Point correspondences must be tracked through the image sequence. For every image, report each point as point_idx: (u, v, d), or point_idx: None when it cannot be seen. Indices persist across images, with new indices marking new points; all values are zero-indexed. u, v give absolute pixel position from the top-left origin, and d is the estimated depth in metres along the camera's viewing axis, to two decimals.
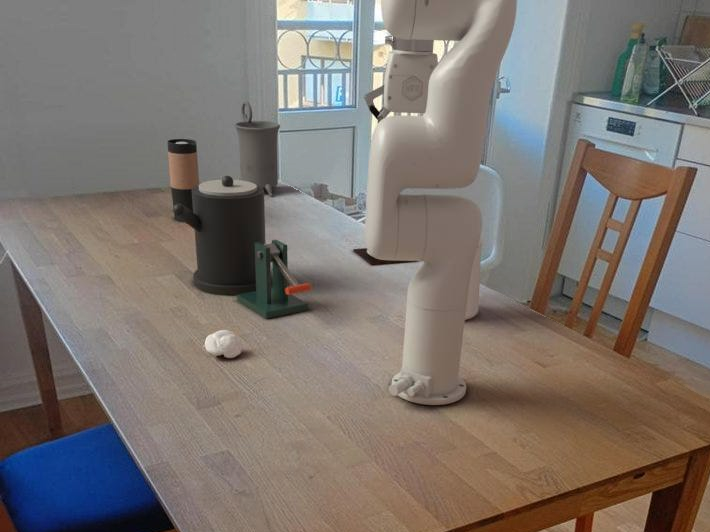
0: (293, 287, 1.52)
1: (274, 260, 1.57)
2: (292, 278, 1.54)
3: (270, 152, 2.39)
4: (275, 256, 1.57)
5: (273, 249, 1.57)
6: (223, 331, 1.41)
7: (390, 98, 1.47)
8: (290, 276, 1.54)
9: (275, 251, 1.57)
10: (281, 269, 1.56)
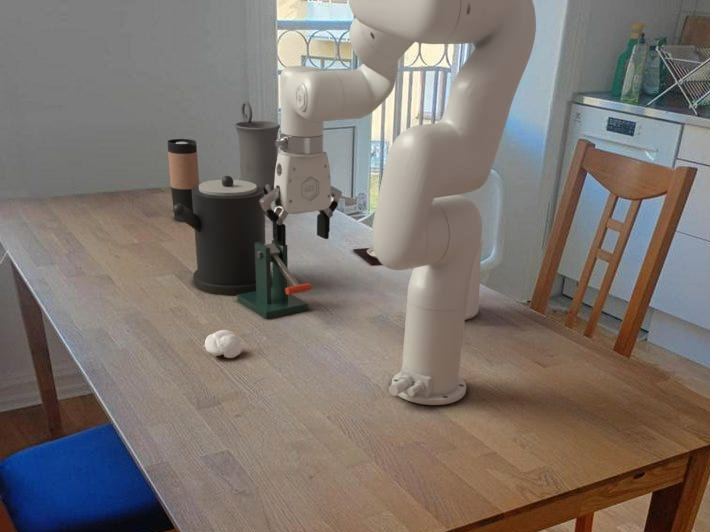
0: (293, 287, 1.52)
1: (274, 260, 1.57)
2: (292, 278, 1.54)
3: (270, 152, 2.39)
4: (275, 256, 1.57)
5: (273, 249, 1.57)
6: (223, 331, 1.41)
7: (290, 201, 1.41)
8: (290, 276, 1.54)
9: (275, 251, 1.57)
10: (281, 269, 1.56)
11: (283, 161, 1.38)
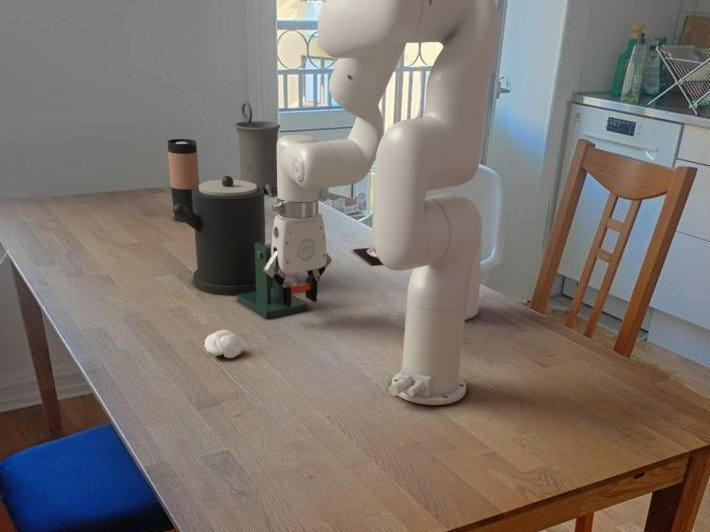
0: (293, 287, 1.52)
1: None
2: (292, 278, 1.54)
3: (270, 152, 2.39)
4: None
5: None
6: (223, 331, 1.41)
7: (287, 262, 1.46)
8: None
9: None
10: None
11: (280, 225, 1.43)
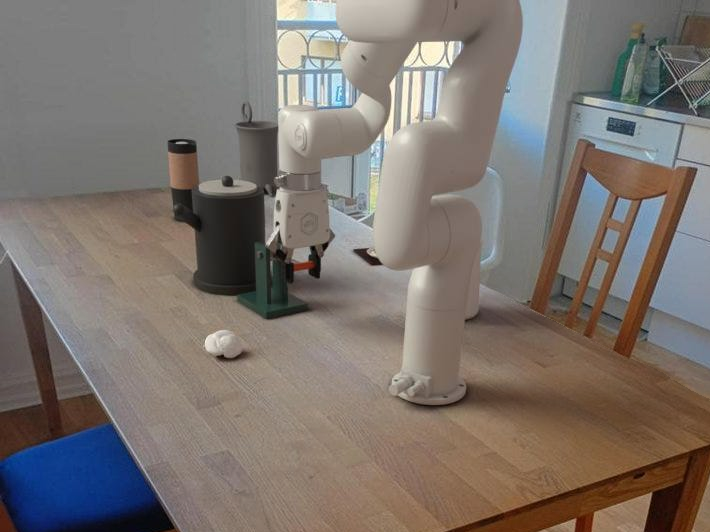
0: (295, 264, 1.49)
1: (274, 255, 1.56)
2: (293, 260, 1.52)
3: (270, 152, 2.39)
4: None
5: None
6: (223, 331, 1.41)
7: (290, 236, 1.43)
8: (291, 260, 1.52)
9: None
10: None
11: (282, 198, 1.40)
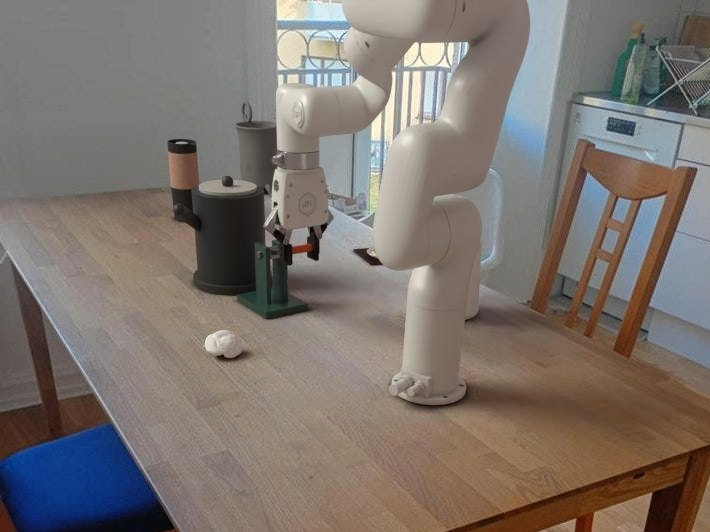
0: (292, 246, 1.48)
1: (274, 252, 1.56)
2: None
3: (270, 152, 2.39)
4: (274, 249, 1.56)
5: (271, 246, 1.57)
6: (223, 331, 1.41)
7: (288, 217, 1.42)
8: None
9: (273, 246, 1.57)
10: None
11: (280, 177, 1.39)
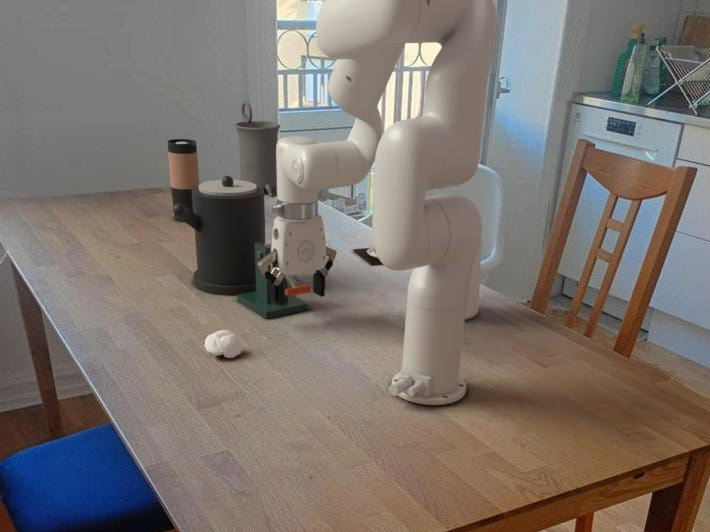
0: (293, 288, 1.53)
1: None
2: (292, 279, 1.54)
3: (270, 152, 2.39)
4: None
5: None
6: (223, 331, 1.41)
7: (287, 263, 1.47)
8: (290, 277, 1.55)
9: None
10: None
11: (280, 226, 1.44)
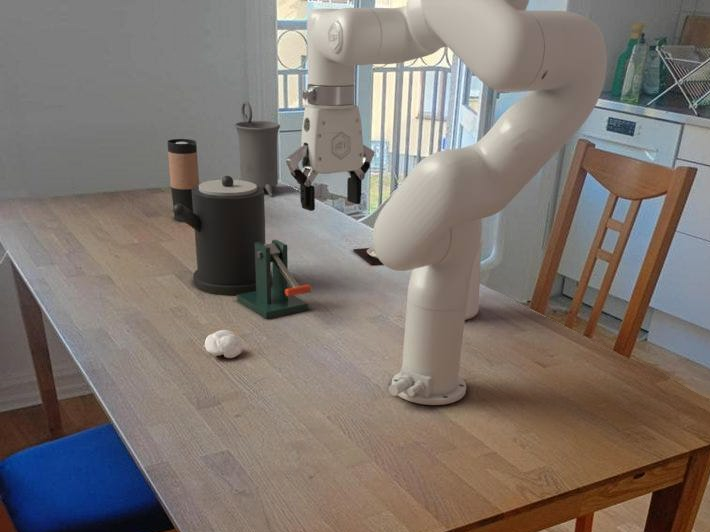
0: (293, 288, 1.53)
1: (274, 260, 1.57)
2: (292, 279, 1.54)
3: (270, 152, 2.39)
4: (275, 256, 1.57)
5: (273, 249, 1.57)
6: (223, 331, 1.41)
7: (320, 159, 1.28)
8: (290, 277, 1.55)
9: (275, 251, 1.57)
10: (281, 270, 1.56)
11: (311, 114, 1.26)
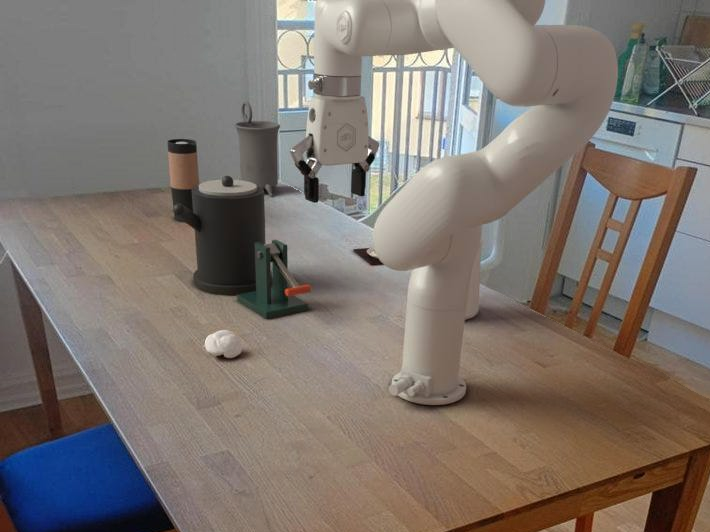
0: (293, 288, 1.53)
1: (274, 260, 1.57)
2: (292, 279, 1.54)
3: (270, 152, 2.39)
4: (275, 256, 1.57)
5: (273, 249, 1.57)
6: (223, 331, 1.41)
7: (325, 150, 1.27)
8: (290, 277, 1.55)
9: (275, 251, 1.57)
10: (281, 270, 1.56)
11: (317, 105, 1.24)
